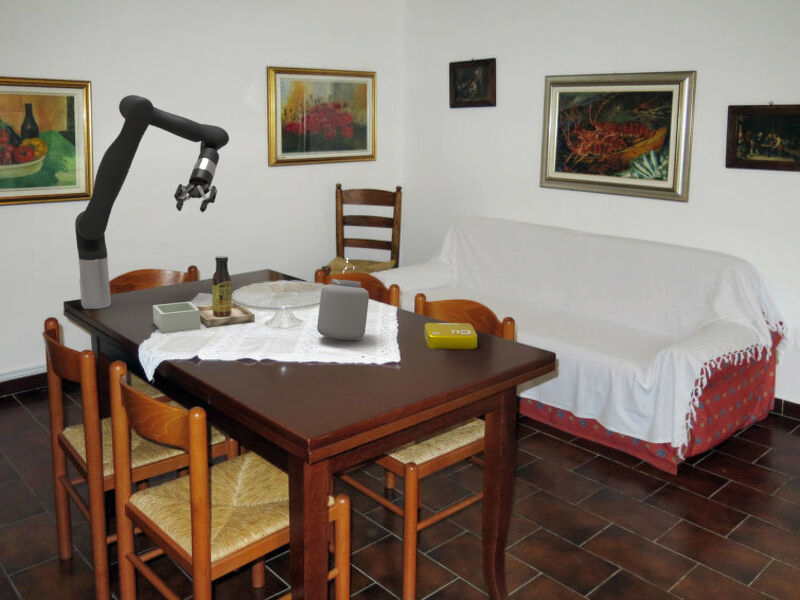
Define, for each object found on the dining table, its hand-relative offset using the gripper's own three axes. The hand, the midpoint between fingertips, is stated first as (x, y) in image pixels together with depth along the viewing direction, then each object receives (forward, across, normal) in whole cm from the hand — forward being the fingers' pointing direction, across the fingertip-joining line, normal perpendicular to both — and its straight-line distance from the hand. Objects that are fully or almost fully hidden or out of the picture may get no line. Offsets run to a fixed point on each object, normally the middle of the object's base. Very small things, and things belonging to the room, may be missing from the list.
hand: (190, 210), depth 264 cm
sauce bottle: (+33, +17, +13) cm, 40 cm away
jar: (+42, +62, +6) cm, 75 cm away
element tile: (+39, +95, +9) cm, 103 cm away
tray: (+34, +17, +14) cm, 40 cm away
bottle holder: (+43, +7, +5) cm, 44 cm away
